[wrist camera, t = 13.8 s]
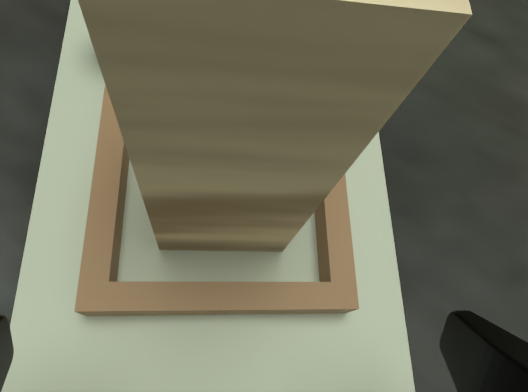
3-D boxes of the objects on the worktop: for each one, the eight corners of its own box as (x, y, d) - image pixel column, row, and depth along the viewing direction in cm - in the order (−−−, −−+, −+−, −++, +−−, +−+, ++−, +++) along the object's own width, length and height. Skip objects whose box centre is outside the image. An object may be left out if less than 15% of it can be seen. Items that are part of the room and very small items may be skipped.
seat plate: (414, 477, 16) (502, 524, 11) (-12, 508, 14) (-114, 582, 9) (355, 25, 24) (393, -54, 19) (79, -1, 22) (48, -98, 17)
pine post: (282, 251, 17) (471, 14, 5) (159, 249, 17) (68, -29, 5) (278, 145, 19) (413, -209, 7) (166, 139, 19) (115, -265, 7)
